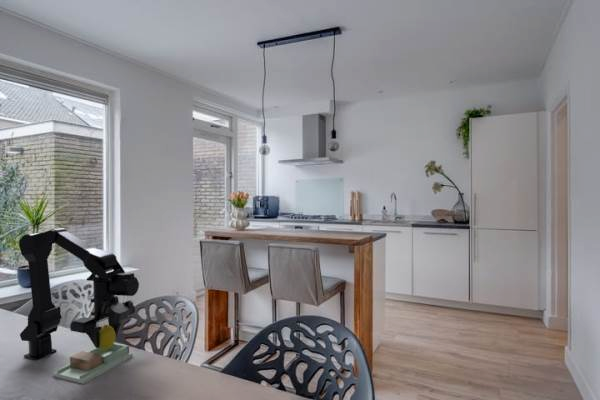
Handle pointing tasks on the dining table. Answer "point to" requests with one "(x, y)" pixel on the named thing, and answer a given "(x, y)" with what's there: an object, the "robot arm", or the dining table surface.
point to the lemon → (106, 337)
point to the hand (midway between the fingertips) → (105, 343)
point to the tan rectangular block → (85, 360)
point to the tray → (109, 360)
